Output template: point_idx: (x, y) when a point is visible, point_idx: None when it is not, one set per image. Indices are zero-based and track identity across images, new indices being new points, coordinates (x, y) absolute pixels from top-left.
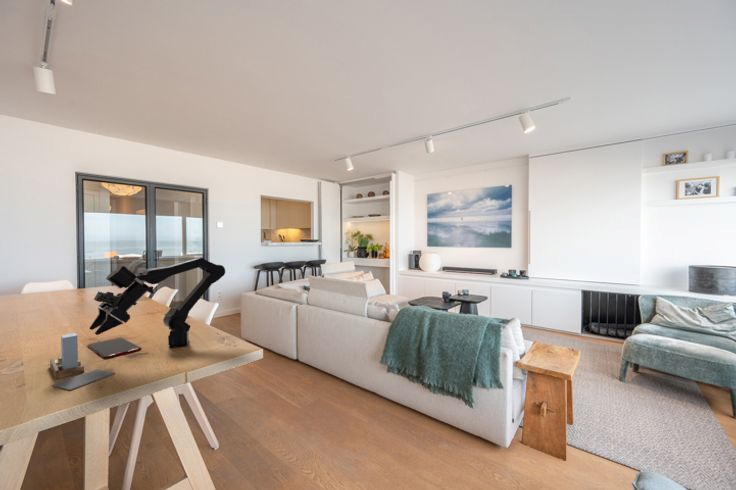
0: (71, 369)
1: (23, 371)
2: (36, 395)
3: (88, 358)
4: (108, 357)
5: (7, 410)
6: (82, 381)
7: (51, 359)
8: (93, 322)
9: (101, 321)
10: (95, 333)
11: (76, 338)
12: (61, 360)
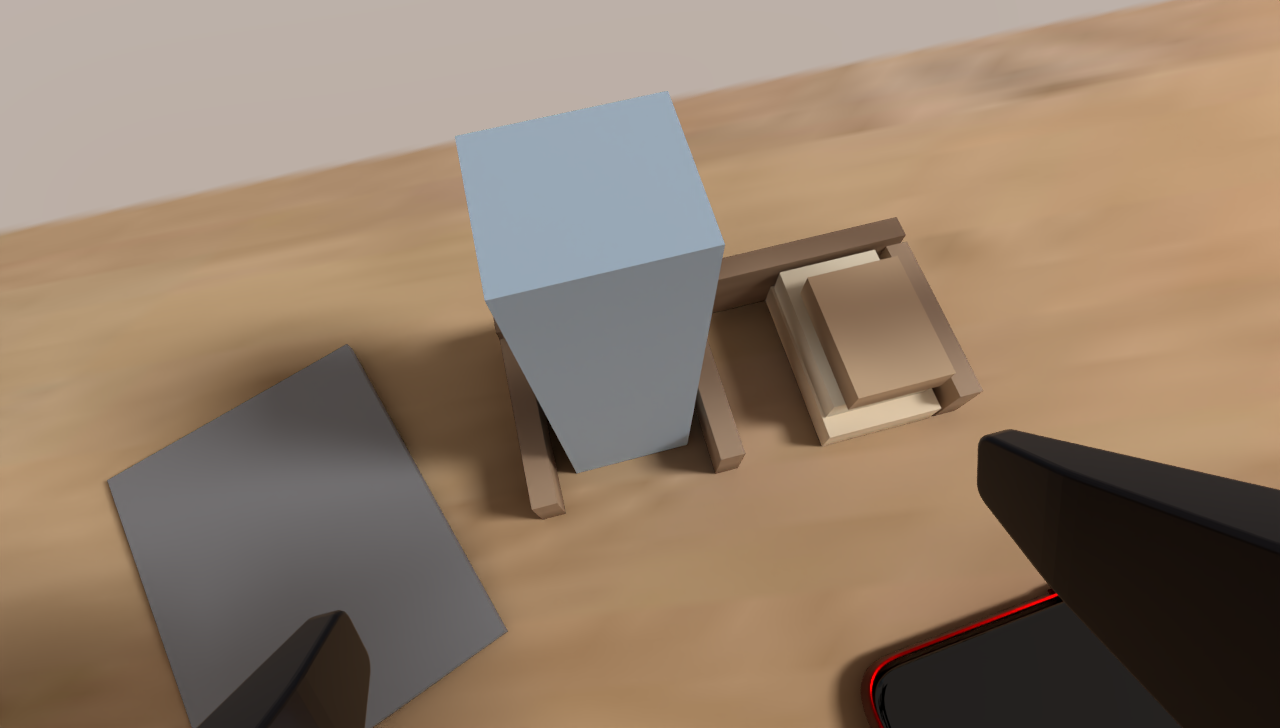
0: (516, 418)
1: (856, 129)
2: (233, 296)
3: (975, 504)
4: (867, 712)
5: (106, 214)
6: (222, 543)
7: (898, 224)
8: (1160, 484)
9: (1274, 723)
10: (315, 628)
11: (499, 317)
12: (807, 301)
